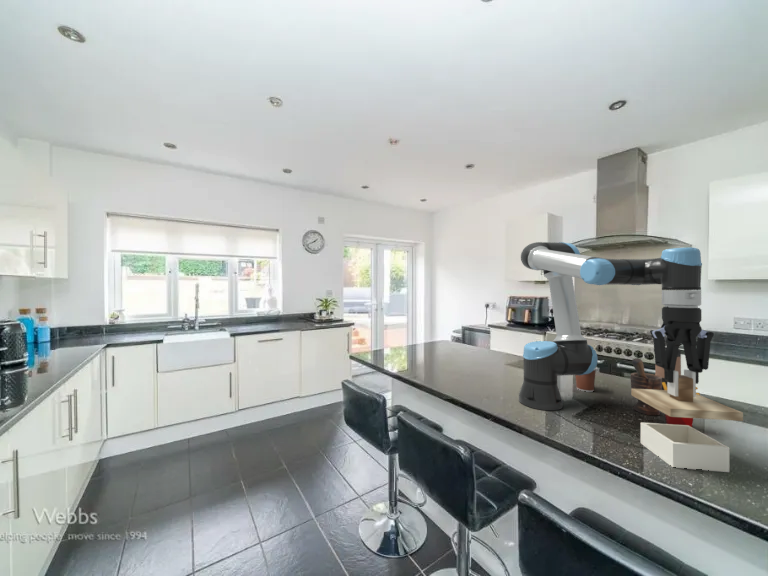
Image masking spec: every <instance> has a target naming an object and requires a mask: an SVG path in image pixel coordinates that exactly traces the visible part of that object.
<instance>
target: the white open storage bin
mask: <svg viewBox="0 0 768 576" xmlns="http://www.w3.org/2000/svg"><path fill="white" fill-rule="evenodd" d="M640 444H641V445H642V446H644V447H645V448H646V449H648V450H649V451H650V452H652V453H653V454H654V455H655V456H657V457H658V456H659V457H658V458H659V459H661V460H662V461H663V462H665V463H666V464H667V465H669V466H670V465H671V466H670V467H672V468H673V467H676V468H675V469H684V468H687V470H696V469H702V470H701V471H708V470H709V472H719V473H720V472H722V473H723V472H724V473H730V447H729V446H728V445H726V444H725V443H724V444H723V443H722V442H720V441H718V440H716V439H715V438H713V437H711V436H709V435H707V434H705V433H703V432H701V431H699V430H698V429H696V428H694V427H693V426H692V427H690V426H689V425H674V424H667V423H657V422H640Z"/></svg>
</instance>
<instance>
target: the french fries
mask: <svg viewBox="0 0 768 576" xmlns="http://www.w3.org/2000/svg"><path fill="white" fill-rule="evenodd" d="M662 385H663V387H664V390H667V386H666V384H665V382H662ZM698 389H699V388H698V386H696V390H698ZM696 394H698V395H701V394H700V392H696ZM664 416H665V417H664V418H665V424H674V425H689V426H690V427H692V428H693V424H694V423H693V422H694V418H684V417H670V416H668V415H666V414H665V413H664Z"/></svg>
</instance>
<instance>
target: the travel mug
mask: <svg viewBox="0 0 768 576" xmlns="http://www.w3.org/2000/svg"><path fill="white" fill-rule="evenodd" d="M666 347H667V346H665V348H666ZM681 352H682V350H681V349H679V350H678V355H677V360H676V366H675V371H678V375H682V355H681V354H682V353H681ZM654 364H655V363H654ZM654 366H655V369H654V373H655V374H654V375H658V376H660V377H662V382H665V384H666V386H667V382H666V381H665V379H664V368H662V367H659V366H657V365H656V364H655V365H654ZM662 390H664V387H663V385H662Z"/></svg>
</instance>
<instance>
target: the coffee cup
mask: <svg viewBox="0 0 768 576" xmlns="http://www.w3.org/2000/svg"><path fill="white" fill-rule="evenodd" d="M596 371H598V366H596V368H595V369H594V370H593V371H592V372H591V373H589V374H584V375H574V376H575V386H576V389H577V390H578V389H579V390H578V391H580V390H581V391H580V392H584V391H586V393H593V391H595V380H596Z"/></svg>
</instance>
